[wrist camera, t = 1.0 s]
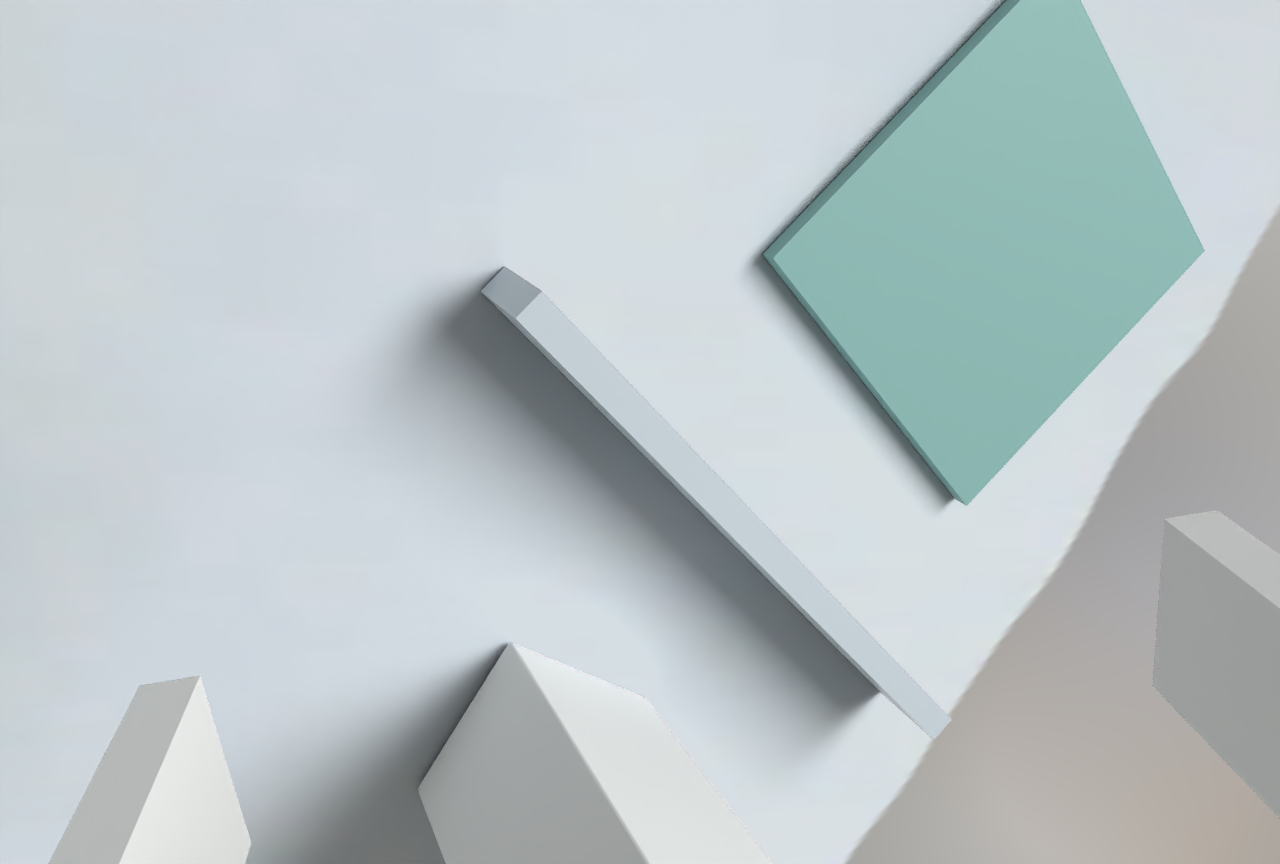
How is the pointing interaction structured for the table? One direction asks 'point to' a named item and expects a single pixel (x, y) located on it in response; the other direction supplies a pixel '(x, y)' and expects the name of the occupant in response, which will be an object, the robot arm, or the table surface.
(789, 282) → the teal board
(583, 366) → the acrylic wall
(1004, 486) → the table surface
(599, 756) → the milk carton
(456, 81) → the table surface
